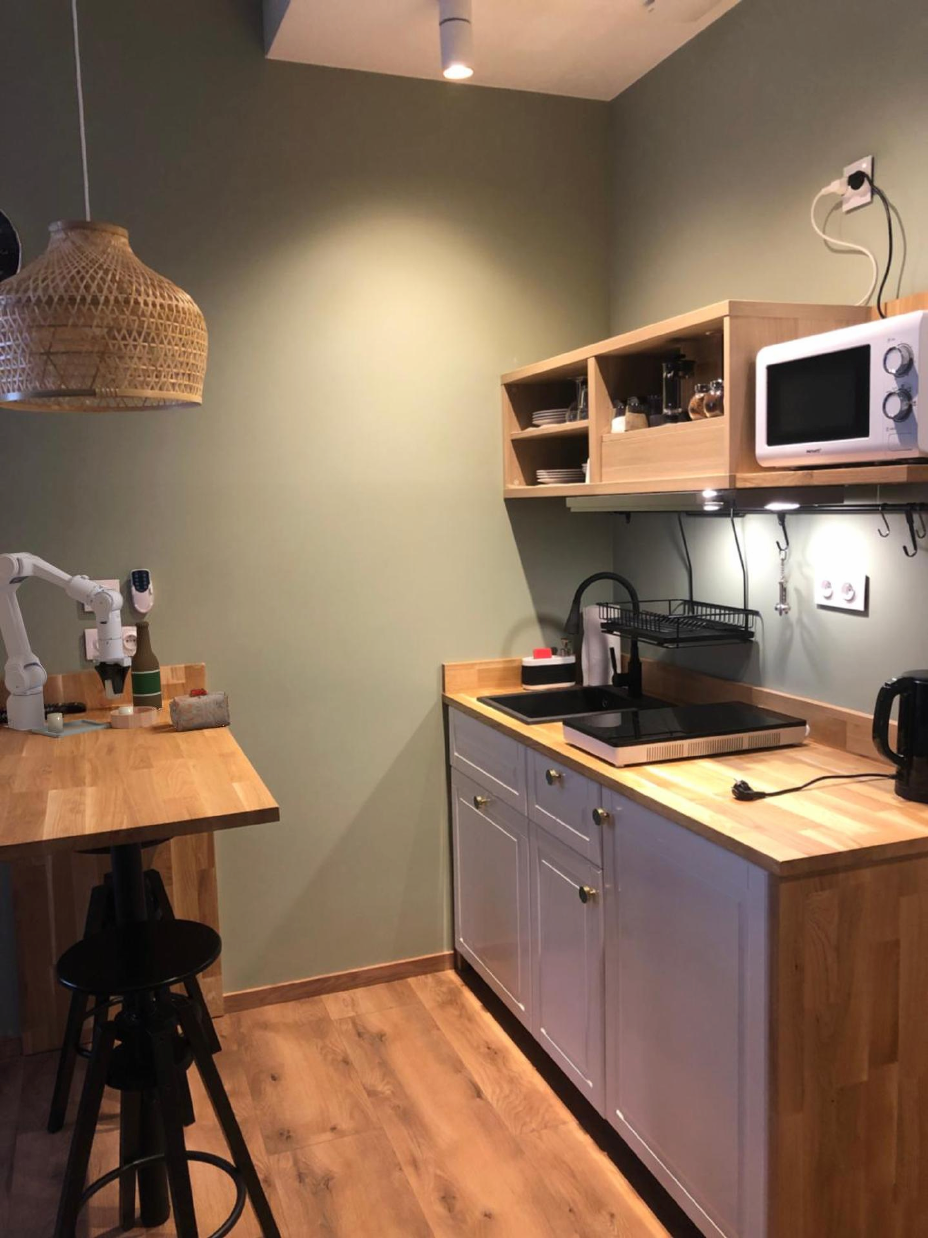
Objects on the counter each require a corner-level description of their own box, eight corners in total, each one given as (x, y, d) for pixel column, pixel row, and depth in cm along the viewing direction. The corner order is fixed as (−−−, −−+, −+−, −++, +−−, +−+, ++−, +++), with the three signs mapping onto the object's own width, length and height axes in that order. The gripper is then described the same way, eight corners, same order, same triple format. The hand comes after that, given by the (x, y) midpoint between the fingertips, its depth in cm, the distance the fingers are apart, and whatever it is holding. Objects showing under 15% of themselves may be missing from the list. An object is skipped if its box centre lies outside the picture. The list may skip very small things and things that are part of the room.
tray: (31, 733, 254) (30, 729, 254) (84, 723, 265) (83, 718, 265) (57, 739, 246) (57, 734, 246) (111, 729, 256) (111, 724, 256)
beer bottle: (158, 712, 277) (152, 622, 274) (129, 713, 277) (122, 623, 274) (166, 706, 284) (160, 619, 282) (137, 707, 284) (131, 620, 282)
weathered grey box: (175, 734, 248) (172, 693, 247) (169, 728, 255) (167, 688, 254) (232, 727, 254) (229, 687, 253) (225, 721, 261) (222, 682, 260)
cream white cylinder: (117, 725, 258) (115, 707, 257) (130, 722, 260) (128, 705, 260) (123, 726, 255) (122, 708, 255) (136, 724, 258) (135, 706, 257)
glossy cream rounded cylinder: (104, 698, 258) (102, 680, 257) (117, 696, 260) (115, 678, 260) (110, 699, 255) (108, 681, 255) (123, 697, 258) (121, 679, 257)
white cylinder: (45, 733, 252) (44, 714, 252) (59, 730, 255) (57, 712, 254) (52, 734, 250) (51, 716, 249) (66, 731, 252) (64, 713, 252)
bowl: (102, 727, 259) (101, 712, 259) (141, 719, 267) (140, 705, 267) (127, 732, 252) (125, 716, 251) (166, 724, 260) (165, 709, 260)
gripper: (140, 638, 255) (144, 692, 256) (109, 635, 264) (113, 688, 266) (114, 641, 249) (118, 697, 251) (83, 638, 259) (87, 692, 260)
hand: (114, 692), depth 258 cm, fingers closed on glossy cream rounded cylinder, 3 cm apart
